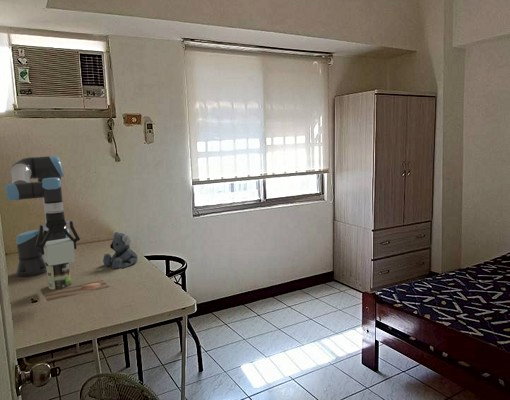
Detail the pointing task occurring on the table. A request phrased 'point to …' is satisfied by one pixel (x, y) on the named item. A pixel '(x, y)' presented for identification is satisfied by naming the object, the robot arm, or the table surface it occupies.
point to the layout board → (75, 290)
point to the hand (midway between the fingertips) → (59, 258)
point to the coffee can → (58, 276)
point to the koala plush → (120, 252)
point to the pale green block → (60, 251)
